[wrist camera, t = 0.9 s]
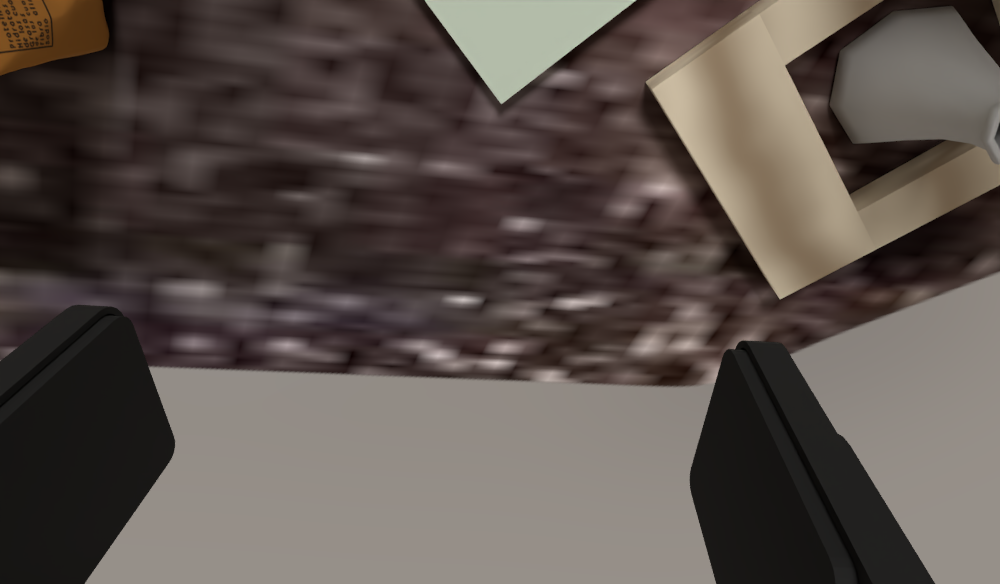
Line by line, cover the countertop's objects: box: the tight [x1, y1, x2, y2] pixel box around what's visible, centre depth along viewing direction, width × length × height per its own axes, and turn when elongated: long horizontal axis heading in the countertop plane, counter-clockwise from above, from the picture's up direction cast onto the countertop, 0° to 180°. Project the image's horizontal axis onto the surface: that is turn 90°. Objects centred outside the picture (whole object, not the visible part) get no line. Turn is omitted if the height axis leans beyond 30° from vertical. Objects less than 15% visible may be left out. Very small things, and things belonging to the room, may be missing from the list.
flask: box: [830, 6, 1000, 165], centre depth 28 cm, size 7×7×10 cm
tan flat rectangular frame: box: [646, 0, 1000, 299], centre depth 31 cm, size 22×16×2 cm
